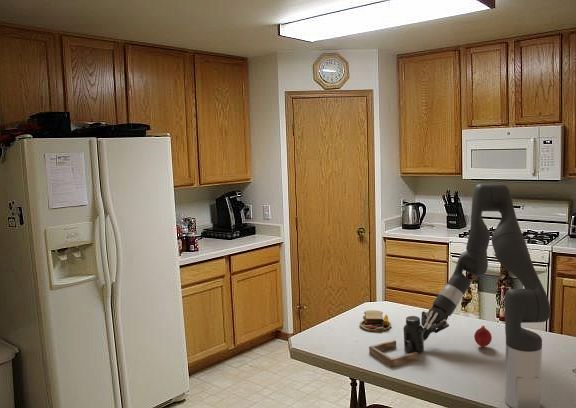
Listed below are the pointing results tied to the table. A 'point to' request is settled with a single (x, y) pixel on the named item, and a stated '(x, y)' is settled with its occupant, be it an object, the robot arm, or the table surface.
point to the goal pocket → (392, 362)
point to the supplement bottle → (413, 335)
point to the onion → (483, 337)
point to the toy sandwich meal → (375, 321)
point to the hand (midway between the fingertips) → (421, 338)
